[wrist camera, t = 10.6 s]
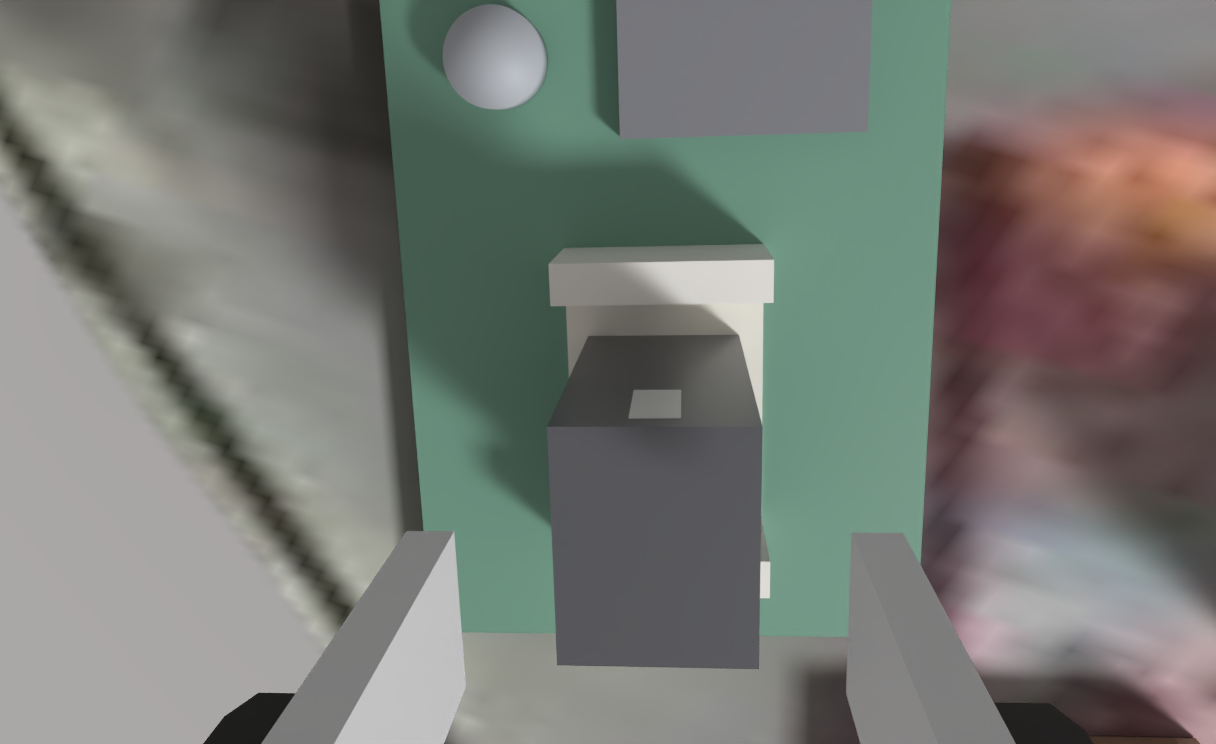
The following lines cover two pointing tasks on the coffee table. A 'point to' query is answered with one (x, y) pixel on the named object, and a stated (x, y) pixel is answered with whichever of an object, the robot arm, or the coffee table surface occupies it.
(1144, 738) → the wooden frame
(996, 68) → the coffee table surface
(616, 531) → the plug
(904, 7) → the board
